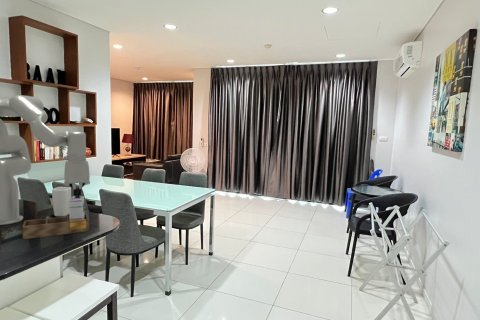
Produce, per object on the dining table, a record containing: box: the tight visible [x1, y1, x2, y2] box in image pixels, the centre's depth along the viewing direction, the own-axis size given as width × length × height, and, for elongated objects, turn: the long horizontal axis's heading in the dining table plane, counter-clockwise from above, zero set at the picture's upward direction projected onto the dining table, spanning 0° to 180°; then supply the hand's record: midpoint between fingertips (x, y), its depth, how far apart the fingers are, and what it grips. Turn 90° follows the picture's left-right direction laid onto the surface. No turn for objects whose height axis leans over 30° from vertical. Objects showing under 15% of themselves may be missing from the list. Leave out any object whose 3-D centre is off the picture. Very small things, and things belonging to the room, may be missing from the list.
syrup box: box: [68, 195, 86, 221], centre depth 140 cm, size 6×6×14 cm
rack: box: [22, 214, 90, 240], centre depth 137 cm, size 25×9×6 cm, turn 121°
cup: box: [51, 186, 72, 218], centre depth 159 cm, size 7×7×15 cm
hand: (77, 196), depth 140 cm, fingers closed
